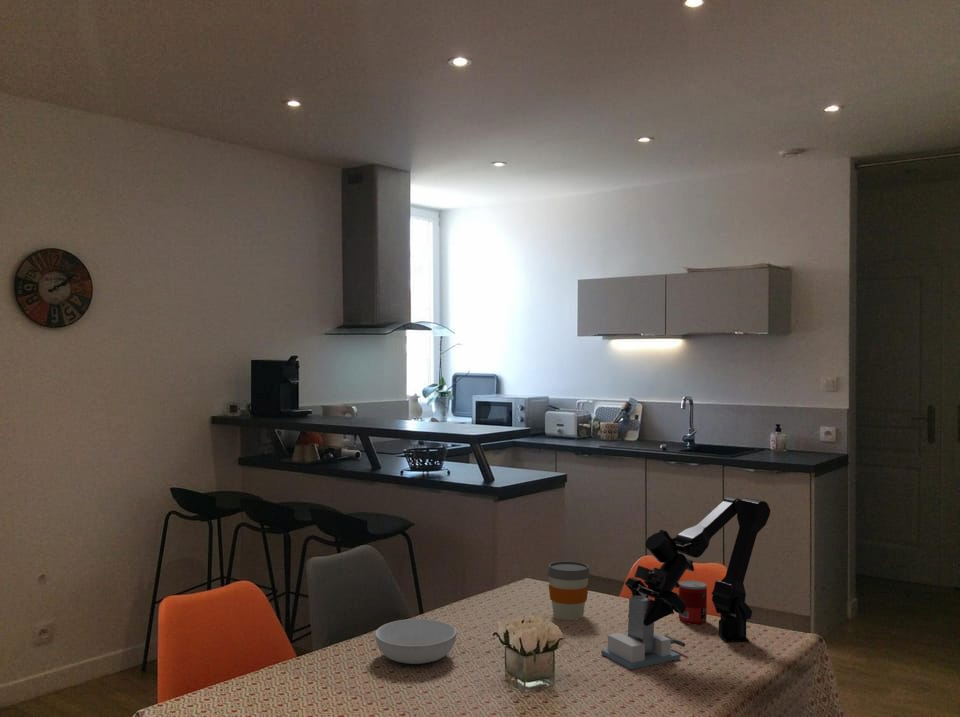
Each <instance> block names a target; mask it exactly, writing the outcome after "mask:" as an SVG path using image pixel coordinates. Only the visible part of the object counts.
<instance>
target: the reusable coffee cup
mask: <svg viewBox="0 0 960 717" xmlns="http://www.w3.org/2000/svg"><path fill="white" fill-rule="evenodd" d="M547 567H548V568H547V569H548V570H547V576H548V577H549V578H548V580H549V582H548V590H549V591H548V592H549V600H551V605H552V613H553V617H554V618H555V619H558V620H562V621H577V620H576V619H579V620H581V619H583V618H584V612H585V604H586V602H587V600H588V594H589V593H588V592H589V584H588V583H589V578H590V576H591V575H590V568H589V565H588V564H587V563H584V562H580V561H579V562H578V561H573V560H572V561H571V560H569V561H567V560H561V561H554V562H550V563H549V564H548V566H547ZM582 617H583V618H582ZM580 618H581V619H580Z"/></svg>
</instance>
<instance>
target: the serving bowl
mask: <svg viewBox="0 0 960 717" xmlns="http://www.w3.org/2000/svg"><path fill="white" fill-rule="evenodd" d="M457 633H458V632H457V629H456V627H454V626H453V625H452V624H450V623H447V622H445V621H440V620H435V619H428V618H410V619H409V618H408V619H399V620H394V621H391V622H388V623H385V624H383V625H380V627H378V628H377V629H376V630H375V634H374V635H375V636H374V637H375V641H376V645H377V648H378V650H379V651H380V653H382V655H384V656H385V657H386V658H387V659H389V660H392V661H394V662H397V663H403V664H409V665H410V664H411V665H420V664H427V663H428V664H429V663H431V662H432V663H433V662H436V661H438V660H440V659H442V658H444V657H445V656H446V655H448V654H449V652H451V650H452V649H453V647H454V645H455V643H456V640H457V639H456V638H457Z"/></svg>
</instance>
